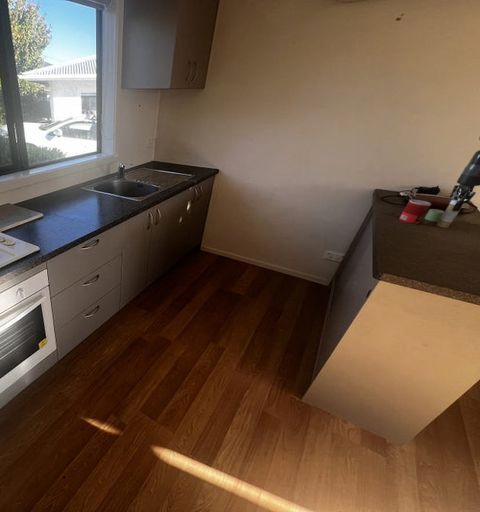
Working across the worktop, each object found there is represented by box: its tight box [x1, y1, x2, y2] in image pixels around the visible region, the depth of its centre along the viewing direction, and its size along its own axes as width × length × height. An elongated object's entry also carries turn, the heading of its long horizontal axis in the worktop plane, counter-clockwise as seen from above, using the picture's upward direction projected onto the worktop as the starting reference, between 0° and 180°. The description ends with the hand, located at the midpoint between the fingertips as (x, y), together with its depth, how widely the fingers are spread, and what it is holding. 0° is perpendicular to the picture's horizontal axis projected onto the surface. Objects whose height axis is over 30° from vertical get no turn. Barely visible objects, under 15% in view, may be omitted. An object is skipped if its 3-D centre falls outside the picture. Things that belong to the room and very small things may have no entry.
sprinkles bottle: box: [435, 200, 465, 229], centre depth 143 cm, size 5×5×13 cm
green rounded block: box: [424, 208, 445, 223], centre depth 153 cm, size 6×6×5 cm
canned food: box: [398, 199, 432, 225], centre depth 149 cm, size 8×8×11 cm
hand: (452, 208), depth 142 cm, fingers closed on sprinkles bottle, 4 cm apart
